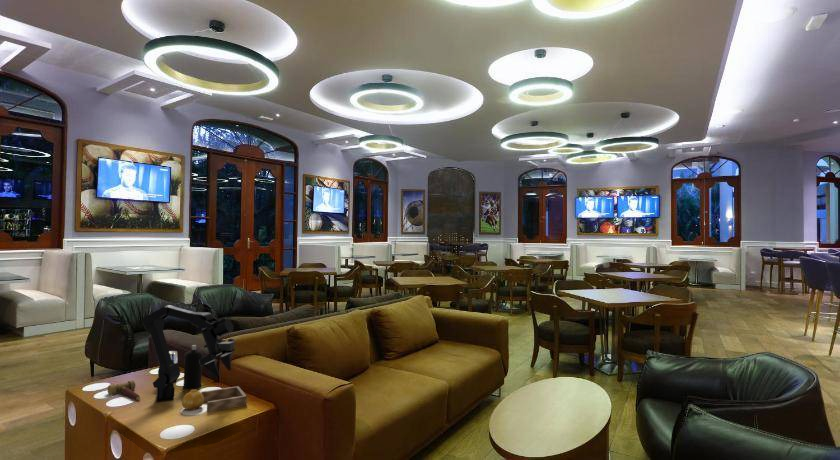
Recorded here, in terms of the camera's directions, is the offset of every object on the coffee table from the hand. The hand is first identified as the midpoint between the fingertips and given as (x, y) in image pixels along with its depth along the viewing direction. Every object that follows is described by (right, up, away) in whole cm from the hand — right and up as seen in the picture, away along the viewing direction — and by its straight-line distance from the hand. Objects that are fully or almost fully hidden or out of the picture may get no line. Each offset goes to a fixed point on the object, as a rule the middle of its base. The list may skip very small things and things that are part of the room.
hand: (224, 373), depth 198 cm
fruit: (-11, -13, -6) cm, 18 cm away
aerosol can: (-25, -13, +21) cm, 35 cm away
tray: (-1, -14, +1) cm, 14 cm away
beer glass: (-39, -13, +25) cm, 48 cm away
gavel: (-46, -13, +6) cm, 48 cm away
